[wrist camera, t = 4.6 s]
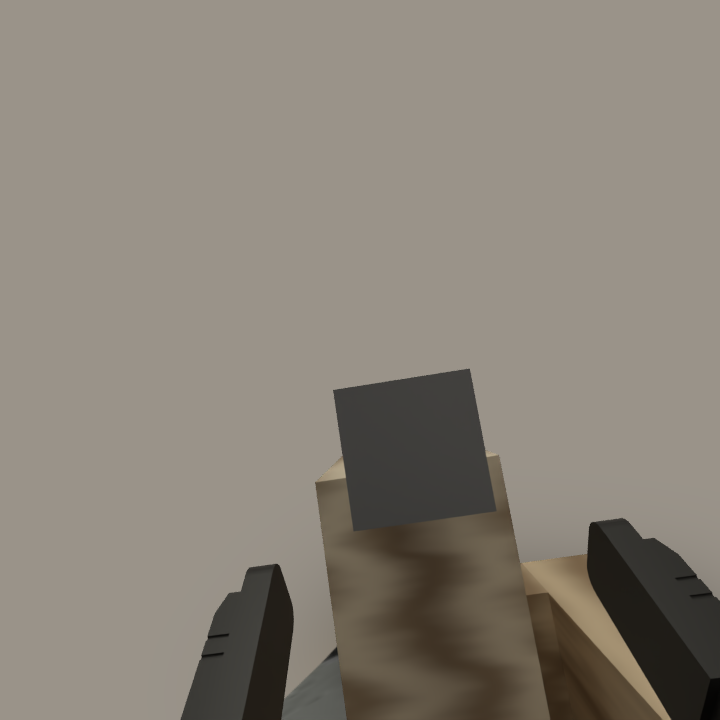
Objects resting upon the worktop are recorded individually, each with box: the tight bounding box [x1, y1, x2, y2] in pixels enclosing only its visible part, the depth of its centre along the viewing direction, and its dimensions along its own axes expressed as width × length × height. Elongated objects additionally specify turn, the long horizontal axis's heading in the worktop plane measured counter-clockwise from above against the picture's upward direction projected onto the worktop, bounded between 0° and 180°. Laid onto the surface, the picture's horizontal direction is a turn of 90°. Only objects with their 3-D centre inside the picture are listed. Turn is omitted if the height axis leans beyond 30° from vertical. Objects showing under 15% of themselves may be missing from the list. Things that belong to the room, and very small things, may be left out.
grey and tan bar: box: [333, 369, 497, 531], centre depth 25 cm, size 6×26×4 cm, turn 176°
